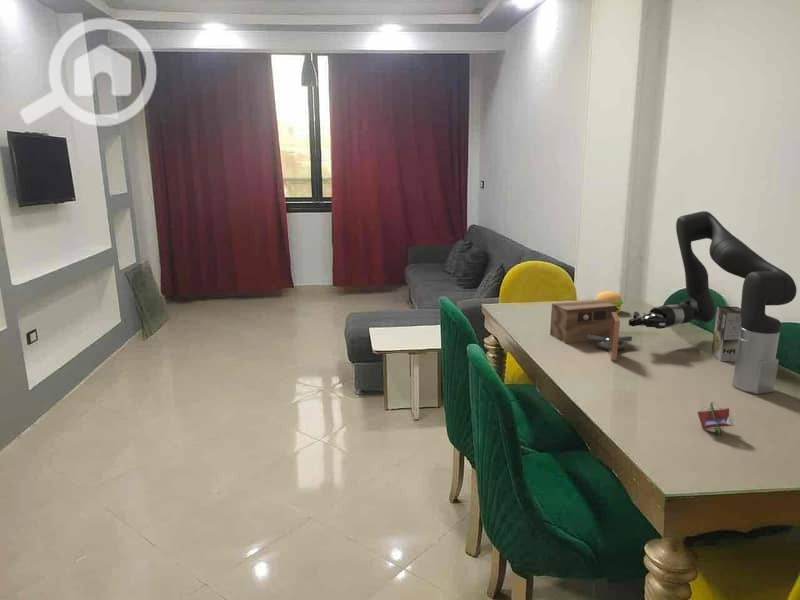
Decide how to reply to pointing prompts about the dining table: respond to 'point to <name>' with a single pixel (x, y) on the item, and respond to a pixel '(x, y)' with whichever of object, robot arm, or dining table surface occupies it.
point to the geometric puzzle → (716, 418)
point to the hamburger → (611, 299)
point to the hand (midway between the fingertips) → (630, 322)
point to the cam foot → (611, 338)
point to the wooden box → (580, 319)
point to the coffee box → (726, 333)
